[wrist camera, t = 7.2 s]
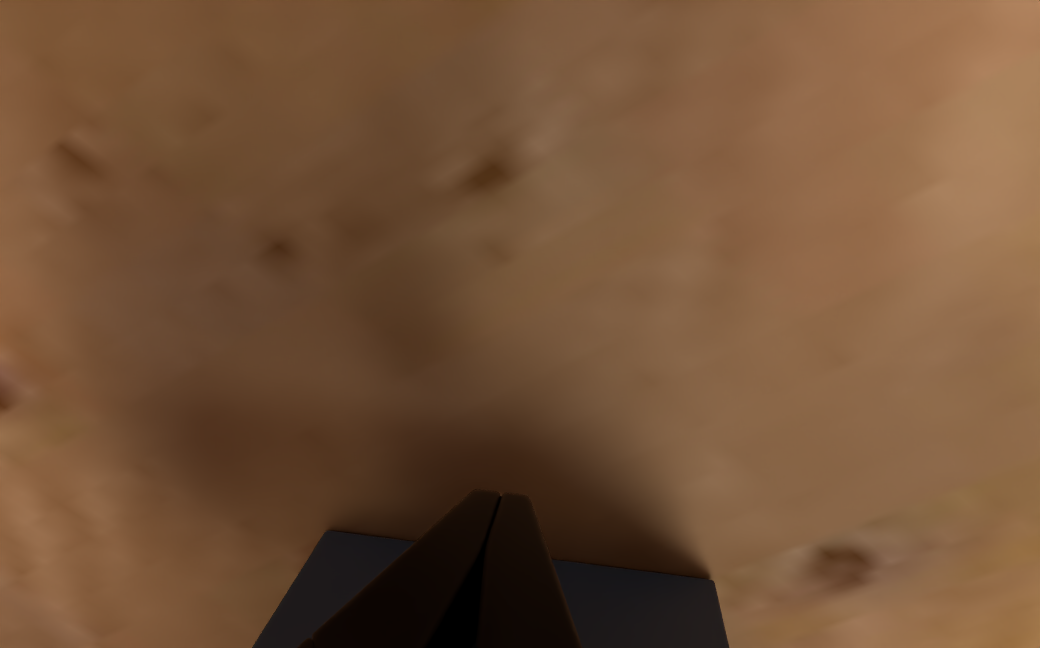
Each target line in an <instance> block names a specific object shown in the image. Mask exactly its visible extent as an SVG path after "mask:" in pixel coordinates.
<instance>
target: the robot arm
mask: <svg viewBox="0 0 1040 648" xmlns="http://www.w3.org/2000/svg"><path fill="white" fill-rule="evenodd" d="M297 648H583V647H582V644H581V641H580V639H579V636H578V633H577V630H576V627H575V624H574V622H573V619H572V616H571V613H570V610H569V607H568V604H567V602H566V599H565V596H564V593H563V590H562V587H561V585H560V582H559V579H558V576H557V573H556V570H555V567H554V565H553V562H552V559H551V556H550V553H549V550H548V548H547V545H546V542H545V539H544V536H543V533H542V530H541V528H540V525H539V522H538V519H537V516H536V513H535V511H534V508H533V505H532V502H531V499H530V498H529V496H527V495H523V494H514V493H504V494H502V496H501V495H500V493H499V492H497V491H489V490H481V489H475V490H473V491H472V492H470V493H469V494H468V495H467V496H466V497H465V498H464V499H463V500H462V501H460V502H459V503H458V504H457V505H456V506H455V507H454V508H453V509H451V510H450V511H449V512H448V513H447V514H446V515H445V516H444V517H443V518H441V519H440V520H439V521H438V522H437V523H436V524H435V525H434V526H432V527H431V528H430V529H429V530H428V531H427V532H426V533H425V534H423V535H422V536H421V537H420V538H419V539H418V540H417V541H416V542H415V543H413V544H412V545H411V546H410V547H409V548H408V549H407V550H406V551H404V552H403V553H402V554H401V555H400V556H399V557H398V558H397V559H396V560H394V561H393V562H392V563H391V564H390V565H389V566H388V567H387V568H385V569H384V570H383V571H382V572H381V573H380V574H379V575H378V576H376V577H375V578H374V579H373V580H372V581H371V582H370V583H369V584H368V585H366V586H365V587H364V588H363V589H362V590H361V591H360V592H359V593H357V594H356V595H355V596H354V597H353V598H352V599H351V600H350V601H349V602H347V603H346V604H345V605H344V606H343V607H342V608H341V609H340V610H338V611H337V612H336V613H335V614H334V615H333V616H332V617H331V618H330V619H328V620H327V621H326V622H325V623H324V624H323V625H322V626H321V627H319V628H318V629H317V630H316V631H315V632H314V633H313V634H312V639H311V638H307V639H306V640H305V641H303V642H302V643H301V644H300V645H299V646H298V647H297Z"/></svg>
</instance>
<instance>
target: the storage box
mask: <svg viewBox="0 0 1040 648" xmlns="http://www.w3.org/2000/svg"><path fill="white" fill-rule="evenodd" d="M413 543H415V542H414V541H406V540H398V539H391V538H383V537H375V536H367V535H359V534H352V533H344V532H336V531H325V533H324V534H323V536H322V537H321V539H320V541H319V542H318V544H317V545H316V547H315V549H314V550H313V552H312V553H311V555H310V556H309V558H308V560H307V561H306V563H305V564H304V566H303V568H302V569H301V571H300V572H299V574H298V576H297V577H296V579H295V580H294V582H293V583H292V585H291V587H290V588H289V590H288V591H287V593H286V595H285V596H284V598H283V599H282V601H281V603H280V604H279V606H278V607H277V609H276V610H275V612H274V614H273V615H272V617H271V618H270V620H269V622H268V623H267V625H266V626H265V628H264V630H263V631H262V633H261V634H260V636H259V637H258V639H257V641H256V642H255V644H254V645H253V647H252V648H297V647H298V646H299V645H300V644H301V643H302V642H303V641H305V640H306V639H307V638H311V639H312V634H313V633H314V632H315V631H316V630H317V629H318V628H319V627H321V626H322V625H323V624H324V623H325V622H326V621H327V620H328V619H330V618H331V617H332V616H333V615H334V614H335V613H336V612H337V611H338V610H340V609H341V608H342V607H343V606H344V605H345V604H346V603H347V602H349V601H350V600H351V599H352V598H353V597H354V596H355V595H356V594H357V593H359V592H360V591H361V590H362V589H363V588H364V587H365V586H366V585H368V584H369V583H370V582H371V581H372V580H373V579H374V578H375V577H376V576H378V575H379V574H380V573H381V572H382V571H383V570H384V569H385V568H387V567H388V566H389V565H390V564H391V563H392V562H393V561H394V560H396V559H397V558H398V557H399V556H400V555H401V554H402V553H403V552H404V551H406V550H407V549H408V548H409V547H410V546H411V545H412V544H413ZM552 562H553V565H554V567H555V570H556V573H557V576H558V579H559V582H560V585H561V587H562V590H563V593H564V596H565V599H566V602H567V604H568V607H569V610H570V613H571V616H572V619H573V622H574V624H575V627H576V630H577V633H578V636H579V639H580V641H581V644H582V647H583V648H729V644H728V640H727V636H726V631H725V627H724V622H723V618H722V614H721V609H720V605H719V600H718V596H717V591H716V587H715V583H714V581H713V580H709V579H702V578H694V577H686V576H678V575H671V574H663V573H655V572H647V571H639V570H632V569H624V568H616V567H608V566H601V565H593V564H585V563H577V562H569V561H562V560H554V559H552Z"/></svg>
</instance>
